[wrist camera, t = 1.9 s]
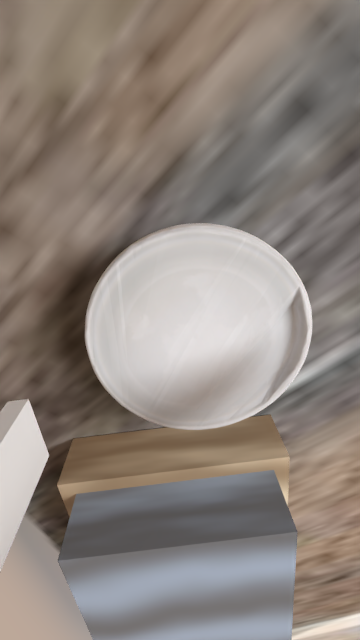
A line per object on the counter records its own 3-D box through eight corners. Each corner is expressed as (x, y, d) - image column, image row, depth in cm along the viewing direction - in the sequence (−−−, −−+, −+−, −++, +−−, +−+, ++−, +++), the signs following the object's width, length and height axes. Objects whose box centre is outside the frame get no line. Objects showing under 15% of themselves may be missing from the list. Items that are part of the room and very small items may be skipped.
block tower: (73, 438, 24) (33, 551, 17) (270, 414, 24) (316, 517, 17) (112, 558, 30) (96, 679, 23) (270, 539, 30) (304, 654, 23)
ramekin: (265, 379, 23) (292, 433, 18) (107, 378, 22) (92, 434, 17) (293, 217, 18) (339, 230, 14) (97, 209, 18) (72, 220, 13)
